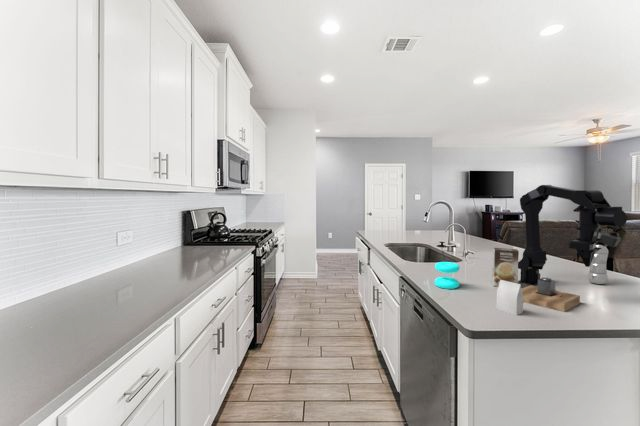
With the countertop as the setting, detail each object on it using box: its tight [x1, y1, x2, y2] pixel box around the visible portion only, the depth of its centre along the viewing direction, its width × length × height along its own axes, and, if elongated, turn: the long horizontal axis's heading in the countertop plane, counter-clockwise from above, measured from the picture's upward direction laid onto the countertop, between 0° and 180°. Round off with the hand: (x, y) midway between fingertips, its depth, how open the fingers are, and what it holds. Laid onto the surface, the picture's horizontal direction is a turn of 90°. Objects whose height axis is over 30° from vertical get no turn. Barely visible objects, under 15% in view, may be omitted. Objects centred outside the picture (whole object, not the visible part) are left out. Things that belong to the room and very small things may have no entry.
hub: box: [521, 285, 581, 313], centre depth 117 cm, size 16×14×3 cm
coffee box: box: [491, 247, 520, 288], centre depth 137 cm, size 9×6×16 cm
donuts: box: [434, 261, 461, 290], centre depth 137 cm, size 10×10×10 cm
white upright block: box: [496, 280, 524, 316], centre depth 107 cm, size 4×7×10 cm, turn 29°
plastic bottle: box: [587, 245, 609, 285], centre depth 139 cm, size 6×7×20 cm
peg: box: [537, 277, 556, 297], centre depth 117 cm, size 4×4×9 cm
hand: (587, 266), depth 117 cm, fingers closed
